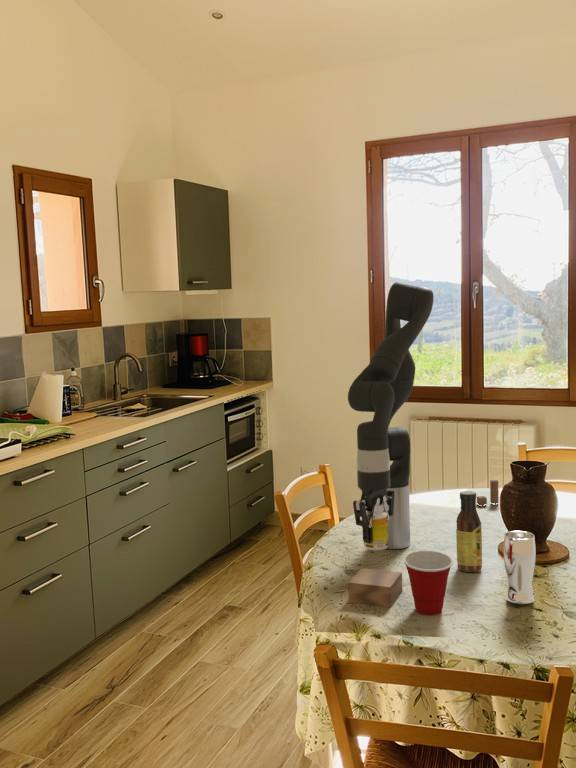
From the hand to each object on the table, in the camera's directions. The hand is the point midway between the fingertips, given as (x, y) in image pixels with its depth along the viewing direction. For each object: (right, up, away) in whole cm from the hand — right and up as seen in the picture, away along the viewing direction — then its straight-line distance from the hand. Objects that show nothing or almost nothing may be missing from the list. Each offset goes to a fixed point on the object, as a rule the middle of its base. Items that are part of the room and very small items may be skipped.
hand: (375, 538), depth 174 cm
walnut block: (0, -14, +1) cm, 14 cm away
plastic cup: (+11, -15, -8) cm, 20 cm away
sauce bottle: (+26, -12, +17) cm, 33 cm away
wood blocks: (+40, -6, +69) cm, 80 cm away
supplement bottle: (0, -2, 0) cm, 2 cm away
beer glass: (+32, -13, -3) cm, 35 cm away
